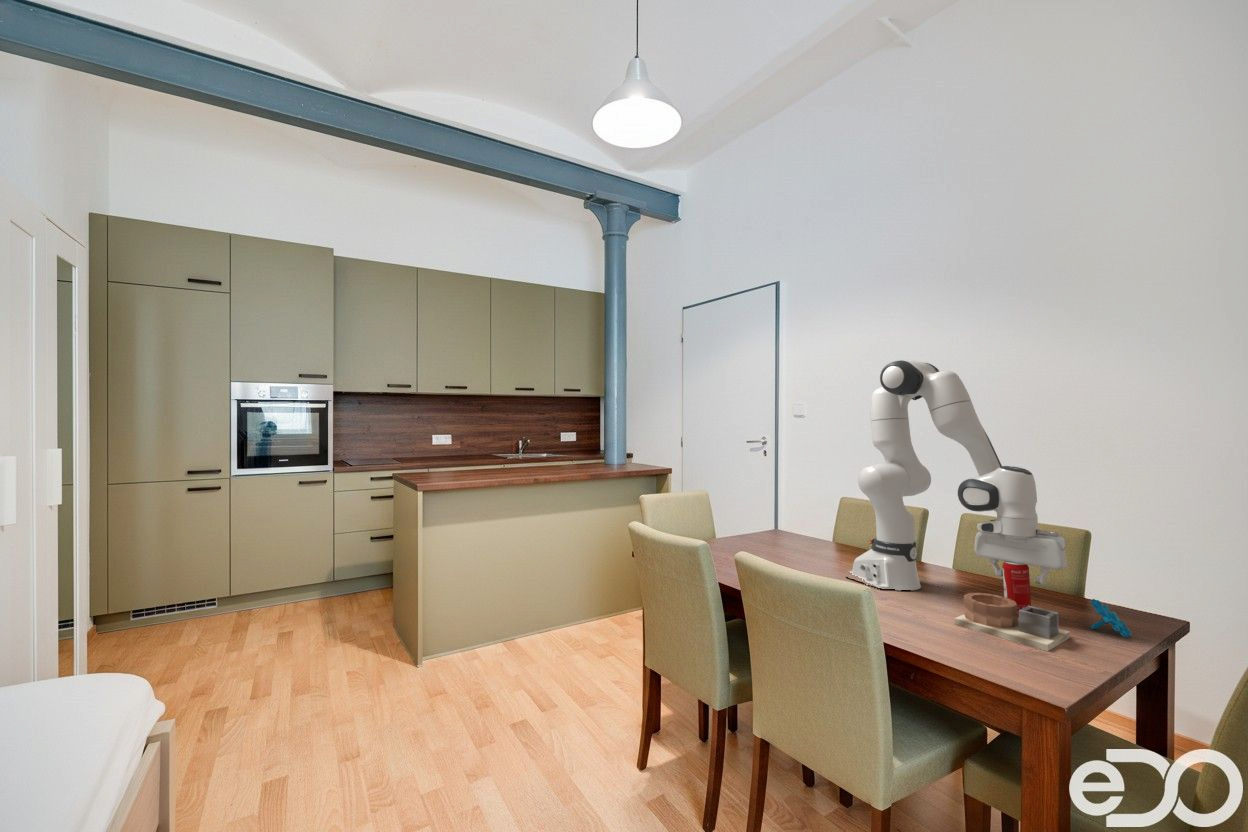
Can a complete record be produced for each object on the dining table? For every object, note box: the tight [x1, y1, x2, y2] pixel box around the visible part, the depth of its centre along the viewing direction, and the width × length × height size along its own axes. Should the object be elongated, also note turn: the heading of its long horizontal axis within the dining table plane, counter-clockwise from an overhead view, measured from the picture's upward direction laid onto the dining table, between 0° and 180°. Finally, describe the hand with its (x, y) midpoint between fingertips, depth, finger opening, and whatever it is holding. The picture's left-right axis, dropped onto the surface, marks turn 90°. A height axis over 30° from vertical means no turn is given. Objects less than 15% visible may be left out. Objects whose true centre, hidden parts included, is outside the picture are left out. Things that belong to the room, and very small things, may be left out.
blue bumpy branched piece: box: [1090, 598, 1132, 638], centre depth 135 cm, size 11×6×10 cm
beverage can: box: [1002, 561, 1032, 618], centre depth 145 cm, size 6×6×15 cm
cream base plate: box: [953, 592, 1071, 652], centre depth 135 cm, size 20×14×6 cm
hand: (1019, 579), depth 144 cm, fingers open, 8 cm apart
